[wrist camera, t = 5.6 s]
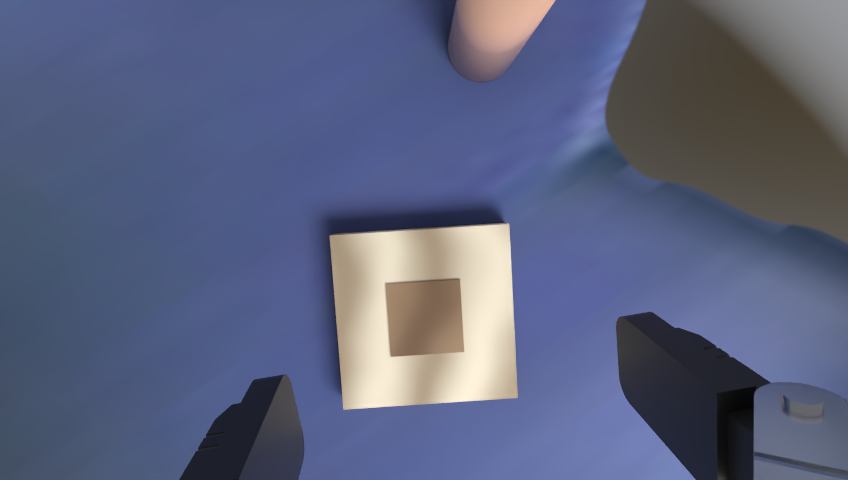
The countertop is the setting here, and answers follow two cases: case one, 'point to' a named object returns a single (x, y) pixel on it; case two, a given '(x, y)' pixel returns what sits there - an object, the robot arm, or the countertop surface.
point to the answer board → (424, 315)
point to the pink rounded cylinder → (491, 34)
